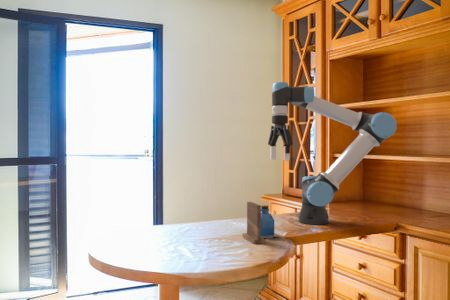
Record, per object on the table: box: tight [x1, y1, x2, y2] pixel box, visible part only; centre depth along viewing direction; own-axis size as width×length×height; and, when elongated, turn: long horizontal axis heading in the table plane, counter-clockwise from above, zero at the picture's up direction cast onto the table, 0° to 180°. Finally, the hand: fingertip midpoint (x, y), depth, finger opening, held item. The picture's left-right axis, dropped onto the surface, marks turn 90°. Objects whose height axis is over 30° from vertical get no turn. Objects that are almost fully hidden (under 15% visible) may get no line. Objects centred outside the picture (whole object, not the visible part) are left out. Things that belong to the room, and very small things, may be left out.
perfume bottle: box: [261, 204, 275, 236], centre depth 169 cm, size 6×6×12 cm
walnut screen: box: [241, 201, 267, 245], centre depth 161 cm, size 5×12×15 cm, turn 20°
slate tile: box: [261, 232, 280, 239], centre depth 169 cm, size 9×9×1 cm
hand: (279, 160), depth 187 cm, fingers open, 13 cm apart
